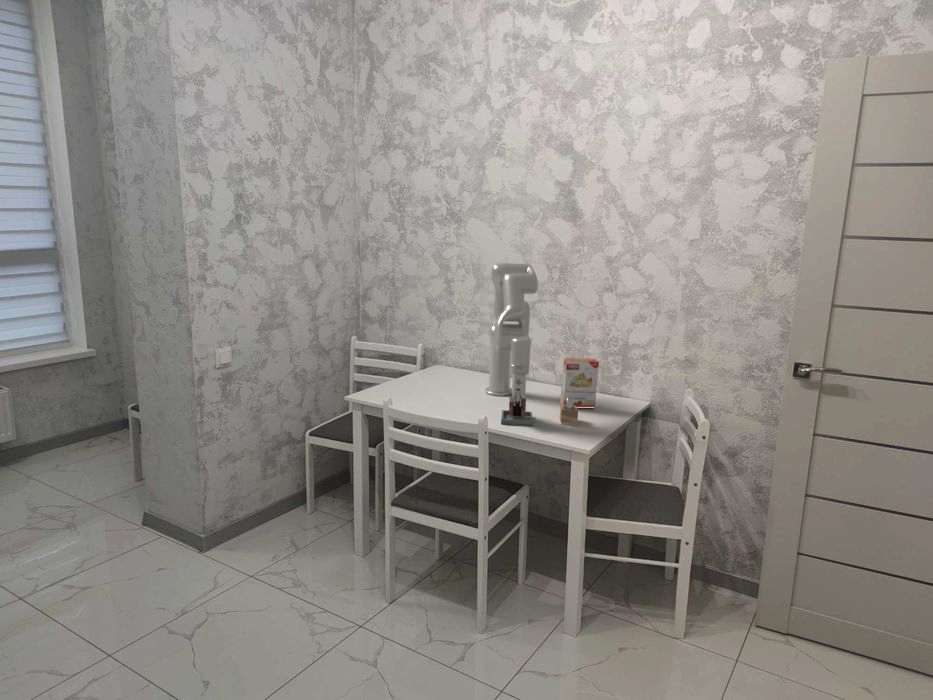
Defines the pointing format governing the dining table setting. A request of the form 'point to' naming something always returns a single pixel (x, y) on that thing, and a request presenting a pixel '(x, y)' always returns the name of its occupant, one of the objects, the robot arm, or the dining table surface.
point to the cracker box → (579, 381)
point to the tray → (516, 419)
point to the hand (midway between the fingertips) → (516, 412)
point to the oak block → (568, 415)
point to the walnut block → (523, 409)
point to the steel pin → (569, 403)
